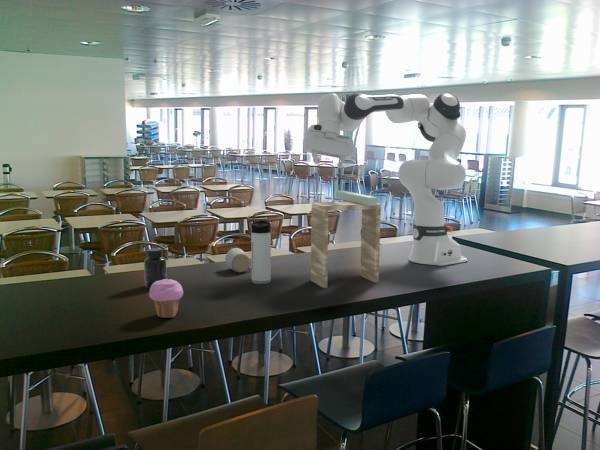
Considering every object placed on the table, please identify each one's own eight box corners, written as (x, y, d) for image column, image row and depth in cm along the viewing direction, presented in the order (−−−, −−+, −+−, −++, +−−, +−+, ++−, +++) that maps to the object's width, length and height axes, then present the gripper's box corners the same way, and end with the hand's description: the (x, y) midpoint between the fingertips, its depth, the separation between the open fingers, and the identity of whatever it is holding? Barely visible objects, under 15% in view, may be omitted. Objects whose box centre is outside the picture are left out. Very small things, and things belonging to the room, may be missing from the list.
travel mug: (272, 279, 185) (272, 220, 182) (269, 284, 178) (268, 223, 175) (253, 279, 185) (253, 220, 182) (250, 284, 179) (249, 223, 176)
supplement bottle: (160, 282, 180) (158, 246, 178) (171, 286, 175) (170, 249, 173) (140, 286, 175) (139, 249, 173) (151, 290, 170) (150, 252, 169)
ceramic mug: (231, 274, 192) (231, 252, 190) (224, 269, 199) (225, 248, 198) (260, 272, 196) (260, 250, 195) (252, 267, 203) (253, 246, 202)
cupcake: (181, 321, 142) (180, 283, 141) (147, 321, 142) (145, 283, 140) (185, 310, 151) (184, 274, 150) (153, 311, 150) (152, 275, 149)
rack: (364, 275, 191) (366, 200, 187) (378, 282, 182) (380, 203, 178) (310, 280, 184) (311, 202, 180) (323, 287, 175) (324, 205, 171)
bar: (343, 197, 195) (343, 190, 195) (377, 205, 173) (377, 197, 173) (335, 197, 194) (335, 190, 194) (368, 205, 172) (368, 197, 172)
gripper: (349, 140, 221) (350, 172, 216) (301, 131, 214) (300, 164, 210) (356, 134, 215) (357, 166, 211) (307, 124, 209) (306, 158, 204)
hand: (328, 165), depth 210 cm, fingers open, 8 cm apart
